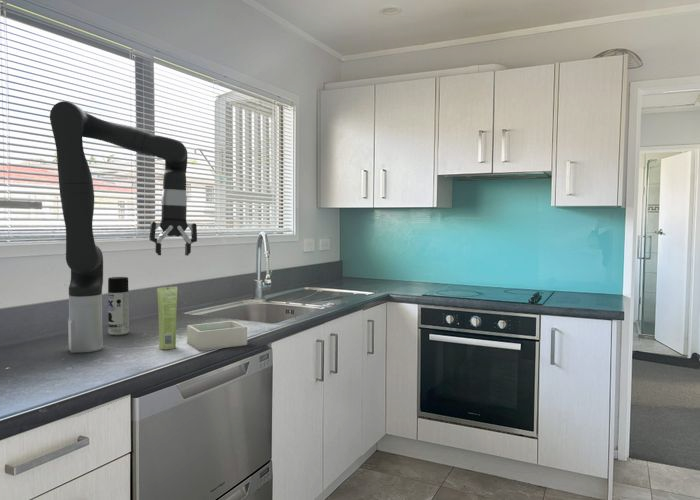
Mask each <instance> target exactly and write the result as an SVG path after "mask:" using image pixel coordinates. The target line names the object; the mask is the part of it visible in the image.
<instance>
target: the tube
mask: <svg viewBox="0 0 700 500" xmlns="http://www.w3.org/2000/svg"><path fill="white" fill-rule="evenodd" d="M156 296H157V309H158V342H159V343H158V347H159V349H160V350H172V349H175V348H176V346H177V345H176V344H177V343H176V342H177V307H178V306H177V305H178V302H177V301H178V285H177V286H176V285H175V286H165V287H157V289H156Z"/></svg>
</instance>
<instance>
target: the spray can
mask: <svg viewBox="0 0 700 500" xmlns="http://www.w3.org/2000/svg"><path fill="white" fill-rule="evenodd" d="M107 279H108V280H107V294H108V295H107V309H108V310H107V311H108V313H107V318H108V321H107V322H108V324H107V325H108V328H107V331H108V335H109V336H123V335H127V334H129V329H130V327H129V320H130V319H129V316H130V315H129V312H130V311H129V307H130V306H129V295H130V294H129V277H128V276H112V277H111V276H110V277H108V278H107Z"/></svg>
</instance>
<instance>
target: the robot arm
mask: <svg viewBox="0 0 700 500" xmlns="http://www.w3.org/2000/svg"><path fill="white" fill-rule="evenodd" d="M49 121H50V126H51V131H52V135H53V139H54V142H55V143H54V144H55V149H56V161H57V162H56V164H57V175H58V188H59V189H58V190H59V196H60V202H61V209H62V210H61V211H62V216H63V220H64V221H63V222H64V225H65V260H66V261H65V262H66V265H67V266H68V268H69V269H70V281H69V282H70V283H69V286H68V319H67V324H68V325H67V326H68V330H67V331H68V333H67V335H68V350H69V352H70V353H71V354H74V353H78V354H79V353H91V352H96V351H97V352H98V351H99V350H103V347H104V345H103V343H104V339H103V285H104V257H103V252H102V250H101V248H100V247H99V246H98V245H97V244H96V242H95V236H94V230H93V221H94V219H93V218H94V210H95V192H94V191H95V190H94V189H95V188H94V181H93V176H92V171H91V169H90V166H89V163H88V161H87V158H86V154H85V151H84V145H83V144H84V142H83V138H89V139H93V140H98V141H101V142H105V143H108V144H112V145H113V146H114V145H115V146H118V147H120V148H122V149H126V150H128V151H131V152H135V153H139V154H142V155H145V156H153V157H156V158H158V159H162V160H164V173H163V177H162V194H161V203H160V204H161V218H160V219H161V220H160V222H156V221H151V222H150V227H149V241H150V242H153V243H155V246H154V249H155V251H154V252H155V254H157V256H162V242H163V240H164V239H165V238H166V237H181V238H182V239H183V240H184V241H185V244H184V256H186V257H187V256H190V254H191V253H192V249H191V248H192V244H193V243H196V242H198V233H197V232H198V231H197V224H196V223H194V222H193V223H188V222H187V211H188V210H187V209H188V208H187V200H188V198H187V168H188V167H187V166H188V150H187V147H186V146H185V145H184V143H183V142H182V141H180V140H177V139H173V138H171V137H167V136H166V137H165V136H162V135H159V134H158V135H157V134H155V133H151V132H150V131H149V132H148V131H146V130H143V129H140V128H136V127H134V126H133V127H132V126H127V125H124V124H118V123H115V122H112V121H111V122H110V121H107V120H105V119H101V118H98V117H97V116H95V115H93V114H90V113H88V112H86V111H84V110H83V108H81V107H80V106H78V105H76V104H75V103H72V102H70V101H64V100H63V101H58V102H57V103H55V104H54V105H53V106H52V107H51V109H50V112H49ZM158 228H160V229H161V230H162V232H161V233H160V234H159V235H158V237H157V238H156V230H158ZM187 229H189V231H190V232H191V234H190V235H191V236H190V237H191V238H189V236H188V234H187V232H185V231H186V230H187Z"/></svg>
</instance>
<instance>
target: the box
mask: <svg viewBox="0 0 700 500" xmlns="http://www.w3.org/2000/svg"><path fill="white" fill-rule="evenodd" d="M186 338H187V340H186V343H187V344H188V345H189V346H190V347H192V348H193V349H196V350H197V351H198V352H202V350H204V351H210V350H209V349H211V350H218V349H225V348H226V349H227V348H233V347H241V346H247V345H248V326H246V325H244V324H242V323H240V322H237V321H235V320H227V321H217V322H215V321H214V322H206V323H198V324H196V323H195V324H189V325H188V324H187V325H186Z"/></svg>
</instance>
